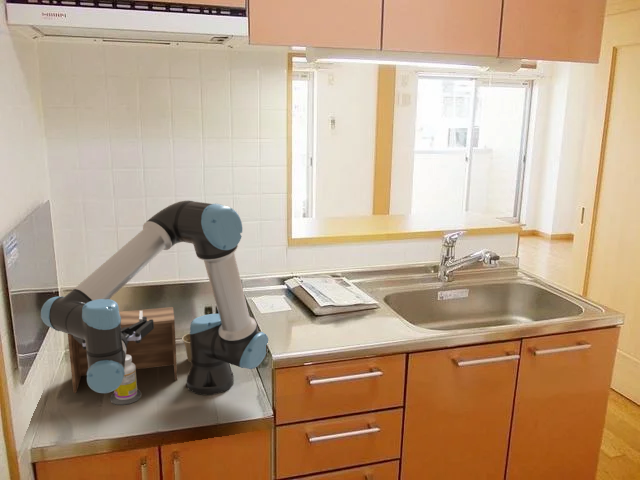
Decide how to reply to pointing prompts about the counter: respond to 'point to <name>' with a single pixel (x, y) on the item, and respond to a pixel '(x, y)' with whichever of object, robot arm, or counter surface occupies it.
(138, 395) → the coaster
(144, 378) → the counter surface
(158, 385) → the counter surface
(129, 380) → the supplement bottle
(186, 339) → the flower pot
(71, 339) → the cubby
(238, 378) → the counter surface
